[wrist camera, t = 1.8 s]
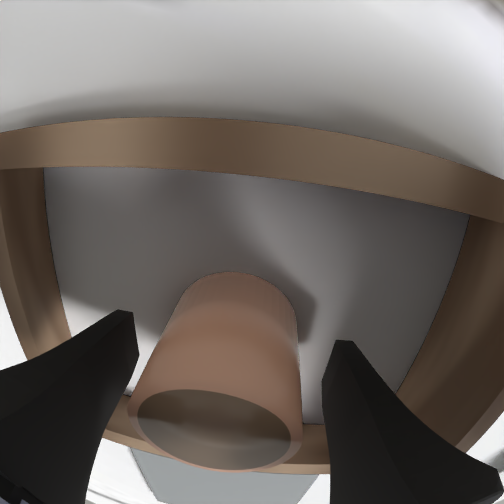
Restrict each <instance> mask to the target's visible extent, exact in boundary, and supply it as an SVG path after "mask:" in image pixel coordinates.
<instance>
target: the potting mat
mask: <svg viewBox="0 0 504 504" xmlns="http://www.w3.org/2000/svg"><path fill="white" fill-rule="evenodd" d="M131 450H132V452H133V454H134V456H135V459H136V461H137V463H138V465H139V467H140V469H141V471H142V473H143V475H144V477H145V479H146V481H147V483H148V485H149V486H150V488H151V490H152V492H153V494H154V496H155V497H156V499H157V501H160V502H164V503H168V504H297V503H298V502H299V501H300V500H301V498H302V497H303V496H304V494H305V493H306V492H307V491H308V489H309V488H310V487H311V485H312V484H313V483H314V481H315V480H316V479H317V477H318V476H319V474H284V473H267V472H255V471H253V472H241V473H231V472H219V471H211V470H206V469H202V468H198V467H194V466H191V465H188V464H185V463H182V462H180V461H177V460H175V459H173V458H169V457H165V456H161V455H157V454H153V453H150V452H146V451H142V450H139V449H135V448H132V447H131Z"/></svg>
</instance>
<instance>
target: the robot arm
mask: <svg viewBox="0 0 504 504" xmlns="http://www.w3.org/2000/svg"><path fill="white" fill-rule="evenodd" d="M138 358H139V349H138V343H137V337H136V331H135V324H134V317H133V312H128V311H123V310H116V311H114V312H112V313H111V314H109V315H107V316H106V317H104V318H102V319H101V320H99V321H98V322H96V323H95V324H93V325H91V326H90V327H88V328H87V329H85V330H83V331H82V332H80V333H79V334H77V335H75V336H74V337H72V338H70V339H69V340H67V341H65V342H63V343H61V344H60V345H58V346H56V347H54V348H53V349H51V350H49V351H47V352H45V353H43V354H41V355H39V356H37V357H34V358H32V359H30V360H28V361H25V362H23V363H20V364H17V365H14V366H12V367H9V368H6V369H3V370H0V504H85V498H86V492H87V488H88V483H89V479H90V475H91V471H92V467H93V464H94V460H95V457H96V453H97V450H98V447H99V444H100V442H101V439H102V436H103V433H104V431H105V428H106V426H107V424H108V422H109V420H110V418H111V416H112V414H113V412H114V410H115V408H116V406H117V404H118V402H119V401H120V399H121V397H122V395H123V393H124V391H125V389H126V387H127V385H128V383H129V381H130V379H131V377H132V374H133V372H134V369H135V366H136V364H137V361H138ZM322 408H323V415H324V422H325V429H326V436H327V443H328V450H329V457H330V504H492V503H494V502H495V501H496V500H498V499H499V498H500V497H501V496H502V494H503V493H504V488H503V485H502V482H501V479H500V477H499V474H498V471H497V469H495V468H493V467H491V466H489V465H487V464H485V463H483V462H481V461H479V460H477V459H474V458H473V457H471V456H469V455H467V454H466V453H464V452H462V451H461V450H459V449H457V448H456V447H454V446H453V445H451V444H450V443H449V442H447V441H446V440H444V439H443V438H442V437H440V436H439V435H438V434H436V433H435V432H434V431H433V430H431V429H430V428H429V427H428V426H427V425H425V424H424V423H423V422H422V421H421V420H420V419H419V418H418V417H417V416H416V415H415V414H413V413H412V412H411V411H410V410H409V409H408V408H407V407H406V406H405V405H404V404H403V402H402V401H401V400H400V399H399V398H398V397H397V396H396V395H395V394H394V393H393V391H392V390H391V389H390V388H389V387H388V386H387V384H386V383H385V382H384V381H383V379H382V378H381V377H380V376H379V374H378V373H377V372H376V371H375V369H374V368H373V367H372V365H371V364H370V363H369V362H368V360H367V359H366V358H365V356H364V355H363V354H362V352H361V351H360V350H359V348H358V347H357V346H356V344H355V343H354V342H353V341H346V340H336V341H335V344H334V347H333V350H332V353H331V356H330V359H329V362H328V364H327V367H326V370H325V373H324V376H323V378H322Z"/></svg>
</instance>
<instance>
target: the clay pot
mask: <svg viewBox="0 0 504 504" xmlns="http://www.w3.org/2000/svg"><path fill="white" fill-rule="evenodd" d="M127 413H128V417H129V420H130V422H131V424H132V426H133V428H134V429H135V431H136V432H137V433H138V434H139V435H140V436H141V437H142V438H143V439H144V440H145V441H146V442H147V443H148V444H150V445H151V446H152V447H154V448H155V449H156V450H158V451H160V452H161V453H163V454H165V455H167V456H168V457H171V458H173V459H175V460H177V461H180V462H182V463H185V464H188V465H191V466H194V467H198V468H202V469H206V470H211V471H219V472H231V473H241V472H253V471H260V470H264V469H268V468H271V467H275V466H277V465H279V464H282V463H284V462H285V461H287V460H289V459H290V458H291V457H293V456H294V455H295V454H296V453H297V452H298V450H299V449H300V447H301V444H302V441H303V423H302V401H301V382H300V364H299V349H298V334H297V321H296V315H295V312H294V309H293V307H292V305H291V303H290V301H289V300H288V299H287V297H286V296H285V295H284V294H283V293H282V292H281V291H280V290H279V289H278V288H277V287H275V286H274V285H273V284H271V283H269V282H268V281H266V280H264V279H261V278H259V277H257V276H253V275H250V274H246V273H240V272H221V273H215V274H211V275H208V276H205V277H203V278H201V279H199V280H197V281H196V282H194V283H193V284H192V285H190V286H189V287H188V288H187V289H186V291H185V292H184V293H183V295H182V296H181V298H180V300H179V302H178V304H177V305H176V307H175V309H174V311H173V313H172V315H171V317H170V319H169V321H168V323H167V325H166V327H165V329H164V331H163V333H162V335H161V337H160V338H159V340H158V342H157V344H156V346H155V348H154V350H153V352H152V354H151V356H150V358H149V360H148V362H147V364H146V367H145V369H144V371H143V373H142V375H141V377H140V379H139V381H138V383H137V385H136V387H135V389H134V391H133V393H132V395H131V398H130V400H129V402H128V406H127Z"/></svg>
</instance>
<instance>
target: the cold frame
mask: <svg viewBox="0 0 504 504" xmlns="http://www.w3.org/2000/svg"><path fill="white" fill-rule="evenodd" d="M43 167H138V168H161V169H179V170H194V171H207V172H219V173H230V174H241V175H250V176H259V177H268V178H277V179H285V180H292V181H300V182H307V183H314V184H321V185H327V186H334V187H340V188H346V189H352V190H358V191H363V192H369V193H374V194H380V195H385V196H390V197H395V198H400V199H405V200H410V201H415V202H419V203H424V204H428V205H433V206H437V207H441V208H445V209H450V210H454V211H458V212H462V213H466V214H470V219H469V223H468V226H467V230H466V233H465V237H464V240H463V244H462V247H461V250H460V253H459V256H458V259H457V262H456V265H455V268H454V271H453V274H452V277H451V279H450V282H449V285H448V287H447V290H446V292H445V295H444V298H443V300H442V302H441V305H440V307H439V310H438V312H437V314H436V317H435V319H434V321H433V323H432V326H431V328H430V330H429V332H428V334H427V336H426V339H425V341H424V343H423V345H422V347H421V349H420V351H419V353H418V355H417V357H416V359H415V361H414V362H413V364H412V366H411V368H410V370H409V372H408V374H407V375H406V377H405V379H404V381H403V383H402V384H401V386H400V388H399V389H398V391H397V393H396V396H397V397H398V398H399V399H400V400H401V401H402V402H403V404H404V405H405V406H406V407H407V408H408V409H409V410H410V411H411V412H412V413H413V414H415V415H416V416H417V417H418V418H419V419H420V420H421V421H422V422H423V423H424V424H425V425H427V426H428V427H429V428H430V429H431V430H433V431H434V432H435V433H436V434H438V435H439V436H440V437H442V438H443V439H444V440H446V441H447V442H449V443H450V444H451V445H453V446H454V447H456V448H457V449H459V450H461V451H462V452H464V453H466V452H467V451H468V450H469V449H470V448H471V447H472V446H473V445H474V444H475V443H476V442H477V441H478V440H479V439H480V438H481V437H482V436H483V435H484V433H485V432H486V431H487V430H488V429H489V428H490V427H491V426H492V424H493V423H494V422H495V421H496V420H497V419H498V417H499V416H500V415H501V414H502V413H503V411H504V180H503V179H500V178H498V177H495V176H493V175H490V174H487V173H485V172H482V171H479V170H476V169H474V168H471V167H468V166H465V165H462V164H459V163H456V162H453V161H450V160H447V159H444V158H440V157H437V156H434V155H430V154H427V153H423V152H420V151H416V150H412V149H409V148H405V147H401V146H397V145H393V144H389V143H385V142H380V141H376V140H371V139H367V138H362V137H357V136H352V135H347V134H342V133H336V132H331V131H325V130H319V129H313V128H306V127H299V126H292V125H284V124H275V123H266V122H257V121H246V120H233V119H217V118H194V117H134V118H112V119H97V120H85V121H75V122H65V123H57V124H50V125H42V126H36V127H29V128H23V129H18V130H12V131H7V132H2V133H0V287H1V290H2V293H3V297H4V300H5V303H6V306H7V309H8V312H9V315H10V318H11V321H12V323H13V326H14V329H15V331H16V334H17V336H18V339H19V341H20V344H21V346H22V349H23V351H24V353H25V356H26V358H27V360H30V359H32V358H34V357H37V356H39V355H41V354H43V353H45V352H47V351H49V350H51V349H53V348H54V347H56V346H58V345H60V344H61V343H63V342H65V341H67V340H69V339H70V338H72V337H71V334H70V330H69V327H68V323H67V320H66V316H65V312H64V308H63V304H62V300H61V296H60V292H59V287H58V283H57V278H56V273H55V268H54V263H53V257H52V251H51V245H50V239H49V231H48V224H47V215H46V206H45V194H44V179H43ZM130 398H131V397H129V396H126V395H122V397H121V399H120V401H119V402H118V404H117V406H116V408H115V410H114V412H113V414H112V416H111V418H110V420H109V422H108V424H107V426H106V428H105V431H104V433H103V436H102V438H105V439H108V440H110V441H113V442H116V443H119V444H123V445H126V446H129V447H132V448H135V449H139V450H142V451H146V452H150V453H153V454H157V455H161V456H165V457H168V456H167V455H165V454H163V453H161V452H160V451H158V450H156V449H155V448H154V447H152V446H151V445H150V444H148V443H147V442H146V441H145V440H144V439H143V438H142V437H141V436H140V435H139V434H138V433H137V432H136V431H135V429H134V428H133V426H132V424H131V422H130V420H129V417H128V413H127V406H128V402H129V400H130ZM169 458H171V457H169ZM255 472H267V473H284V474H330V457H329V450H328V443H327V436H326V429H325V425H312V424H303V441H302V444H301V447H300V449H299V450H298V452H297V453H296V454H295V455H294V456H293V457H291V458H290V459H289V460H287V461H285V462H284V463H282V464H279V465H277V466H275V467H271V468H268V469H264V470H260V471H255Z"/></svg>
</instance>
